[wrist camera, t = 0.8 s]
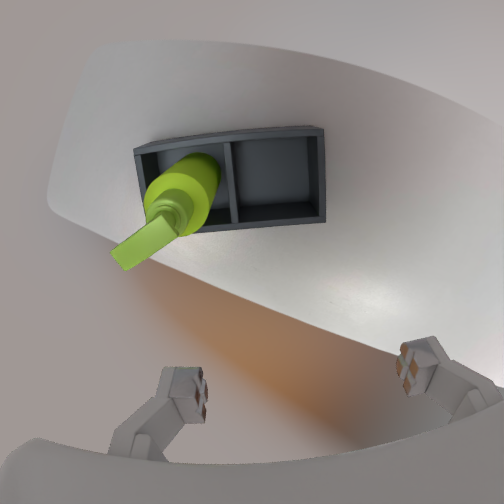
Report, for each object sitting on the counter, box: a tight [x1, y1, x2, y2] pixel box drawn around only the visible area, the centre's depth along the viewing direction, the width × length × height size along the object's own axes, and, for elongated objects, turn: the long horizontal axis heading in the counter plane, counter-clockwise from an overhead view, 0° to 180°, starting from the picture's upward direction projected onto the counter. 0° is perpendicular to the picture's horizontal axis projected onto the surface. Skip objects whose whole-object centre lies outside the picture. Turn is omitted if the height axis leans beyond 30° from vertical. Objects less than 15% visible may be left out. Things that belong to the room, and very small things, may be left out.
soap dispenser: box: [110, 152, 221, 271], centre depth 29 cm, size 6×7×20 cm
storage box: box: [133, 126, 326, 234], centre depth 36 cm, size 11×20×6 cm, turn 95°
